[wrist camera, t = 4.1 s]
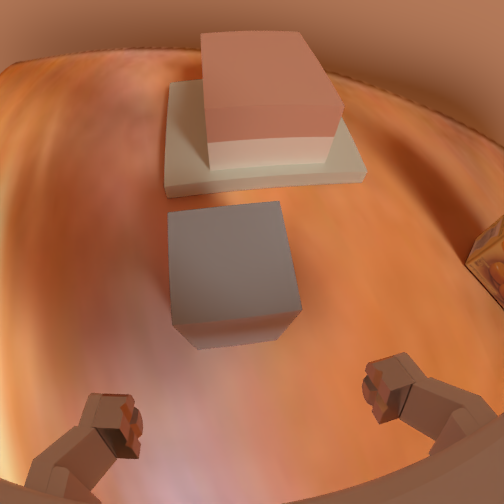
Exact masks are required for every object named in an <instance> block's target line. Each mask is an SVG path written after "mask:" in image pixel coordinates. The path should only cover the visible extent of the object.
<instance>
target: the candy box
mask: <svg viewBox="0 0 504 504" xmlns="http://www.w3.org/2000/svg"><path fill="white" fill-rule="evenodd" d="M465 265H466V266H467V267H468V268H469V270H470V271H471V272H472V273H473V274H474V275H475V276H476V277H477V278H478V279H479V280H480V282H481V283H482V284H483V285H484V286H485V287H486V288H487V290H488V291H489V292H490V293H491V294H492V295H493V296H494V298H495V299H496V300H497V301H498V302H499V304H500V305H501V306H502V307H503V308H504V215H502V216H501V217H500V218H499V219H498V220H497V221H496V222H495V223H493V224H492V225H491V226H490V227H489V228H488V229H486V230H485V231H484V232H483V233H482V234H481V235H479V236H478V237H477V238H476V240H475V242H474V245H473V247H472V250H471V252H470V254H469V256H468V258H467V261H466V263H465Z"/></svg>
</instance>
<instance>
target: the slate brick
mask: <svg viewBox="0 0 504 504" xmlns="http://www.w3.org/2000/svg"><path fill="white" fill-rule="evenodd" d="M168 258H169V282H170V300H171V315H172V326H173V327H174V328H175V329H176V330H178V331H179V332H180V333H181V334H182V335H183V336H184V337H185V338H186V339H187V340H188V341H189V342H190V343H191V344H192V345H193V346H194V347H196V348H197V349H198V350H200V349H210V348H219V347H228V346H237V345H245V344H252V343H260V342H267V341H274V340H277V339H278V338H279V337H280V336H281V334H282V333H283V332H284V331H285V330H286V329H287V327H288V326H289V325H290V324H291V323H292V321H293V320H294V319H295V318H296V317H297V315H298V314H299V313H300V312H301V311H302V306H301V301H300V296H299V291H298V286H297V281H296V276H295V271H294V266H293V262H292V257H291V252H290V247H289V243H288V238H287V233H286V229H285V224H284V220H283V215H282V211H281V206H280V202H279V201H273V202H262V203H251V204H240V205H230V206H220V207H211V208H202V209H193V210H185V211H176V212H168Z"/></svg>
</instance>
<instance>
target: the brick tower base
mask: <svg viewBox="0 0 504 504" xmlns="http://www.w3.org/2000/svg"><path fill="white" fill-rule="evenodd" d="M201 53H202V74H203V79H197V80H188V81H180V82H173V83H170V87H169V99H168V111H167V125H166V142H165V165H164V189H165V192H166V195H167V198H175V197H183V196H192V195H200V194H209V193H219V192H228V191H239V190H249V189H261V188H273V187H287V186H302V185H319V184H339V183H362V181H363V179H364V177H365V176H366V174H367V169H366V167H365V165H364V163H363V160H362V158H361V156H360V154H359V152H358V149H357V147H356V145H355V143H354V141H353V139H352V137H351V135H350V132H349V130H348V128H347V126H346V124H345V122H344V120H343V118H342V113H343V110H344V107H345V105H344V104H343V102H342V100H341V98H340V96H339V95H338V93H337V91H336V89H335V88H334V86H333V84H332V83H331V81H330V79H329V78H328V76H327V74H326V73H325V71H324V69H323V68H322V66H321V65H320V63H319V62H318V60H317V58H316V57H315V55H314V54H313V52H312V51H311V49H310V48H309V46H308V45H307V43H306V42H305V40H304V39H303V37H302V36H301V34H300V33H299V32H286V31H236V32H235V31H233V32H216V33H203V34H201Z"/></svg>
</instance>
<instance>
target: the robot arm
mask: <svg viewBox="0 0 504 504" xmlns="http://www.w3.org/2000/svg"><path fill="white" fill-rule="evenodd" d="M365 371H366V373H367V376H366V377H365V378H364V379H363V384H362V391H363V395H364V398H365V400H366V402H367V403H368V404H370V405H372V406H373V409H372V413H373V415H374V416H375V418H376V420H377V422H378V423H379V424H382V423H385V422H388V421H391V420H394V419H397V418H399V419H400V420H402V421H403V422H405V423H407V424H408V425H410V426H412V427H413V428H415V429H417V430H418V431H420V432H422V433H423V434H425V435H427V436H428V437H430V438H432V439H433V440H435V443H434V445H433V446H432V448H431V449H430V451H429V455H430V456H429V457H427V458H425V459H423V460H420V461H418V462H416V463H414V464H412V465H409V466H407V467H405V468H402V469H400V470H397V471H395V472H392V473H390V474H387V475H385V476H382V477H379V478H377V479H374V480H371V481H368V482H365V483H362V484H359V485H356V486H353V487H350V488H346V489H343V490H339V491H336V492H332V493H328V494H325V495H321V496H317V497H312V498H308V499H303V500H299V501H294V502H288V503H283V504H504V413H502V414H501V415H499V416H497V415H496V414H495V412H494V411H493V410H492V409H491V408H490V407H489V405H488V404H487V403H486V402H485V401H484V400H483V398H482V397H481V396H479V395H476V394H473V393H471V392H468V391H465V390H463V389H460V388H457V387H455V386H452V385H449V384H447V383H444V382H442V381H439V380H436V379H434V378H431V377H430V378H427V377H426V376H425V375H424V373H423V372H422V371H421V370H420V368H419V367H418V366H417V365H416V364H415V362H414V361H413V360H412V359H411V358H410V356H409V355H408V354H407V353H405V352H403V353H400V354H396V355H393V356H390V357H386V358H383V359H379V360H376V361H372V362H369V363H368V364H367V365H366V369H365ZM134 404H135V401H134V399H133V397H132V395H129V394H99V393H91V394H90V395H89V396H88V399H87V402H86V405H85V407H84V410H83V413H82V416H81V419H80V422H79V425H78V426H74V427H73V428H72V429H70V430H69V431H68V432H67V433H66V434H64V435H63V436H62V437H61V438H59V439H58V440H57V441H56V442H54V443H53V444H52V445H51V446H49V447H48V448H47V449H46V450H45V451H43V452H42V453H41V454H40V455H38V456H37V457H36V458H35V459H33V461H32V464H31V467H30V470H29V473H28V476H27V479H26V482H25V485H24V487H23V486H20V485H18V484H15V483H12V482H9V481H7V480H4V479H1V478H0V504H102V503H101V501H100V500H99V499H98V498H97V497H96V496H95V495H94V494H92V493H91V492H90V491H91V490H92V489H93V488H94V486H95V485H96V484H97V483H98V482H99V480H100V479H101V478H102V477H103V476H104V474H105V473H106V472H107V471H108V470H109V468H110V467H111V466H112V465H113V463H114V462H115V461H116V460H117V459H116V458H125V459H139V454H140V446H141V444H140V442H139V440H138V438H139V437H140V436H141V435H142V432H143V420H142V416H141V413H140V411H139V410H138V409H137V408H135V407H134Z"/></svg>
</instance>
